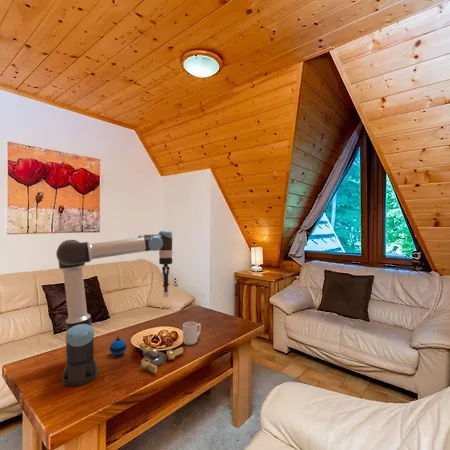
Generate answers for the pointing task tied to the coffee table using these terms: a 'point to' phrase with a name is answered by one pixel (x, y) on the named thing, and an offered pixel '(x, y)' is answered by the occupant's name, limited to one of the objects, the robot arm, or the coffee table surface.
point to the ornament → (117, 346)
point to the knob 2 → (148, 365)
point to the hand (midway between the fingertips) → (165, 296)
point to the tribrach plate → (157, 361)
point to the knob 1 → (145, 349)
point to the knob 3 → (174, 353)
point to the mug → (190, 332)
